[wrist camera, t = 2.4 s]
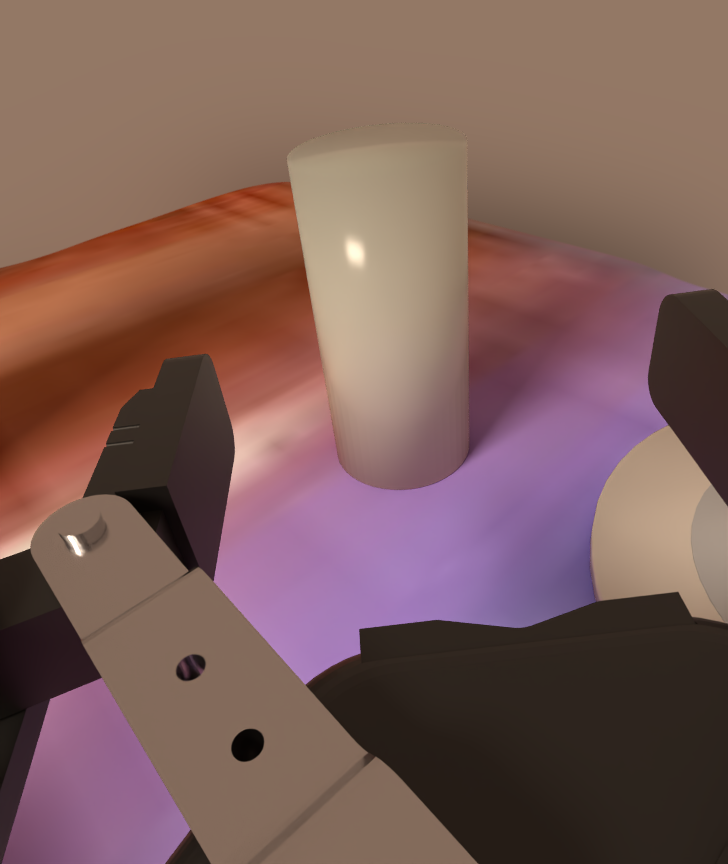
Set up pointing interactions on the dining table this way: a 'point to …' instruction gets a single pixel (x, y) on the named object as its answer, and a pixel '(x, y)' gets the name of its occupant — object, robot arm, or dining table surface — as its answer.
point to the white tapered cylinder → (389, 295)
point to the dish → (661, 530)
